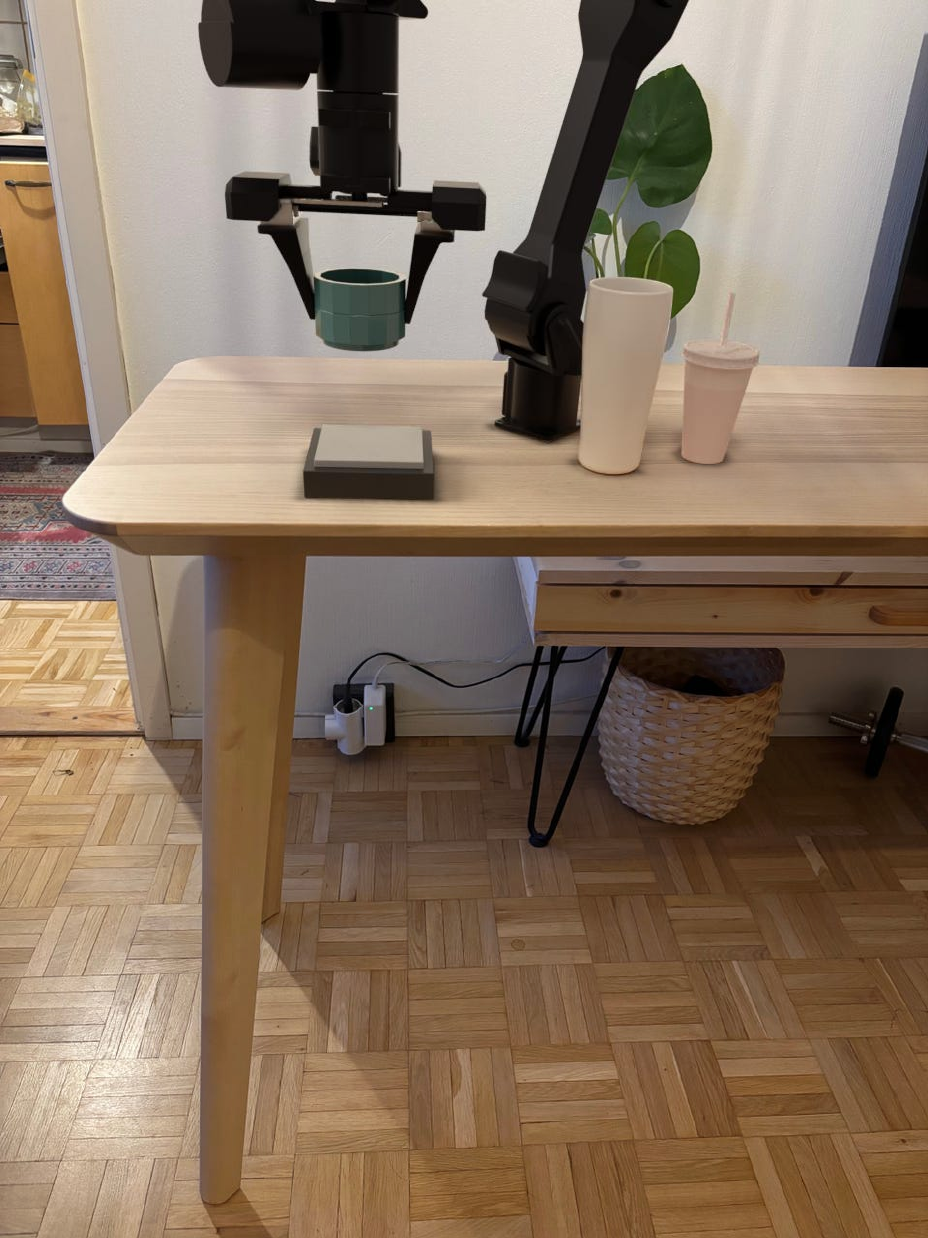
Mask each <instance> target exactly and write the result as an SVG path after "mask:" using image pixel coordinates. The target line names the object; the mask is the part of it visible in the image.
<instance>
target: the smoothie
mask: <svg viewBox="0 0 928 1238" xmlns="http://www.w3.org/2000/svg"><path fill="white" fill-rule="evenodd" d="M735 298H736V293H735V292H728V294H727V301H726V306H725V312H724V318H723V322H722V328H721V334H720V339H718V338H717V339H716V338H699V339H692V340H689V341H686V342H685V343H684V345H683V349H682V353H681V358H683V360H684V377H683V379H684V381H683V403H682V404H683V405H682V406H683V407H682V430H681V431H682V433H681V453H680V454H681V457H682V458H683V459H684V460H687V461H688V462H692V463H696V464H700V465H701V464H702V465H716V464H720V463H722V462H723V461H724V460H725V459H724V458H725V455H726V452H727V449H728V447H729V443H730V440H731V437H732V435H733V431H734V428H735V424H736V422H737V418H738V415H739V412H740V409H741V406H742V403H743V401H744V397H745V395H746V393H747V389H748V386H749V383H750V379H751V376H752V373H753V370H754V368H756V367H758V365H759V358H760V354H761V353H760V350H759V349H758V348H757V347H754V346H753V345H751V344H748V343H743V342H739V341H733V340H728V337H729V332H730V326H731V321H732V315H733V311H734V305H735V300H736V299H735Z"/></svg>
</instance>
